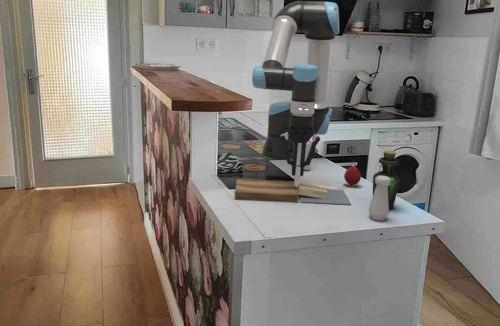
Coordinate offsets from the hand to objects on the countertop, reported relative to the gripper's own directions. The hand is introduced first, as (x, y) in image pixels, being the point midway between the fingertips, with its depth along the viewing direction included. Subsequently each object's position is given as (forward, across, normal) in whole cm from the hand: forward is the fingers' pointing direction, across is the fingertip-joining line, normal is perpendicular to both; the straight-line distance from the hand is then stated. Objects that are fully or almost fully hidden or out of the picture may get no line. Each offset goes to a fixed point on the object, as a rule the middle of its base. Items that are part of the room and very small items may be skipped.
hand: (296, 184), depth 154 cm
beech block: (+3, +5, 0) cm, 6 cm away
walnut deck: (+4, -10, 0) cm, 11 cm away
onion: (+4, +21, +13) cm, 25 cm away
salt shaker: (+4, +23, -17) cm, 29 cm away
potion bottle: (+4, +27, -7) cm, 28 cm away
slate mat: (+4, +9, 0) cm, 10 cm away
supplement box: (+4, +5, +32) cm, 33 cm away
